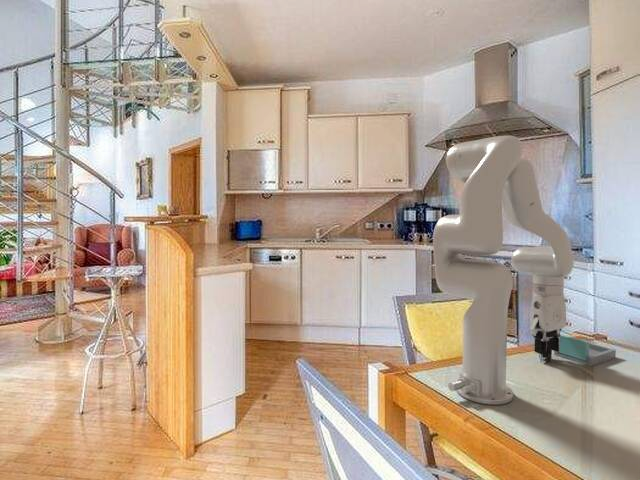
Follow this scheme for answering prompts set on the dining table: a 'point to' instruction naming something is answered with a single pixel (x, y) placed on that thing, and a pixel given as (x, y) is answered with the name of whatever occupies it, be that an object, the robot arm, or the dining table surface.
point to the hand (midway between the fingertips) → (546, 351)
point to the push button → (549, 350)
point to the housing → (592, 355)
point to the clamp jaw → (574, 347)
